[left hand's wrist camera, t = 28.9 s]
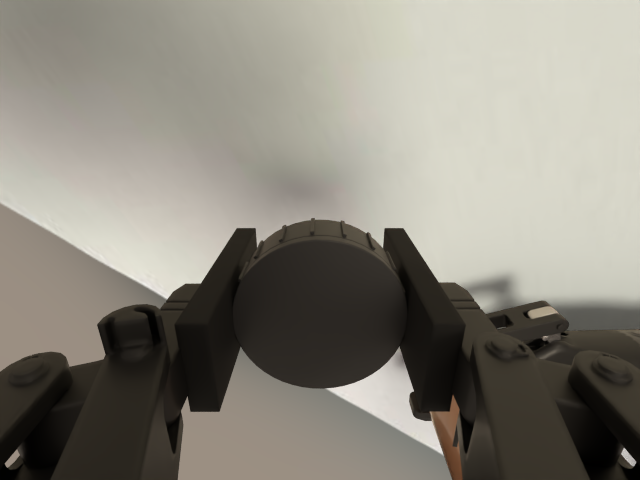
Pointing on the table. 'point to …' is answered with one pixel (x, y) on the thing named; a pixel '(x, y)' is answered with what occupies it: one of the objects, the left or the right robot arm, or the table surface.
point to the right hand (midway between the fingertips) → (415, 381)
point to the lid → (320, 305)
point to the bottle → (448, 438)
